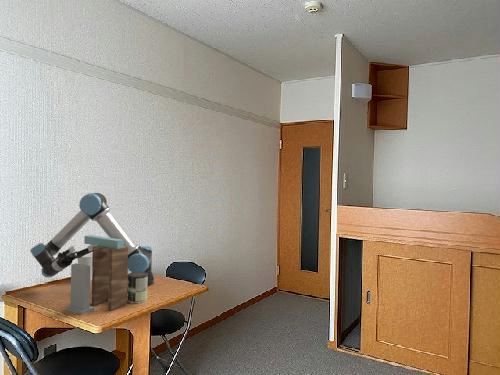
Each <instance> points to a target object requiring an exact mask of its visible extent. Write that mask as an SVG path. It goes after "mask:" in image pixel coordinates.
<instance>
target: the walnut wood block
mask: <svg viewBox="0 0 500 375" xmlns="http://www.w3.org/2000/svg"><path fill="white" fill-rule="evenodd" d="M92 253H93V255H92V281H91V298H90V300H91V303H90V304H91V305H90V306H91V307H97V306H100V305H102V304H105V303H107V306H108V307H107V308H108V309H107V310H108V312H112V311H115V310H117V309H121V308H123V307H126V306H127V305H128V303H127V302H128V301H127V299H128V292H127V276H128V274H127V270H128V247H126V246H124V248H120V249H114V248H108V247H102V246H94V247H93V252H92Z"/></svg>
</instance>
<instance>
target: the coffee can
mask: <svg viewBox="0 0 500 375" xmlns="http://www.w3.org/2000/svg"><path fill="white" fill-rule="evenodd" d="M127 276H128V292H127V302H128V303H129V304H130V303H131V304H140V303H145V302H147V300H148V286H147V282H148V273H146V272H131V273H129V274H127Z"/></svg>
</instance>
